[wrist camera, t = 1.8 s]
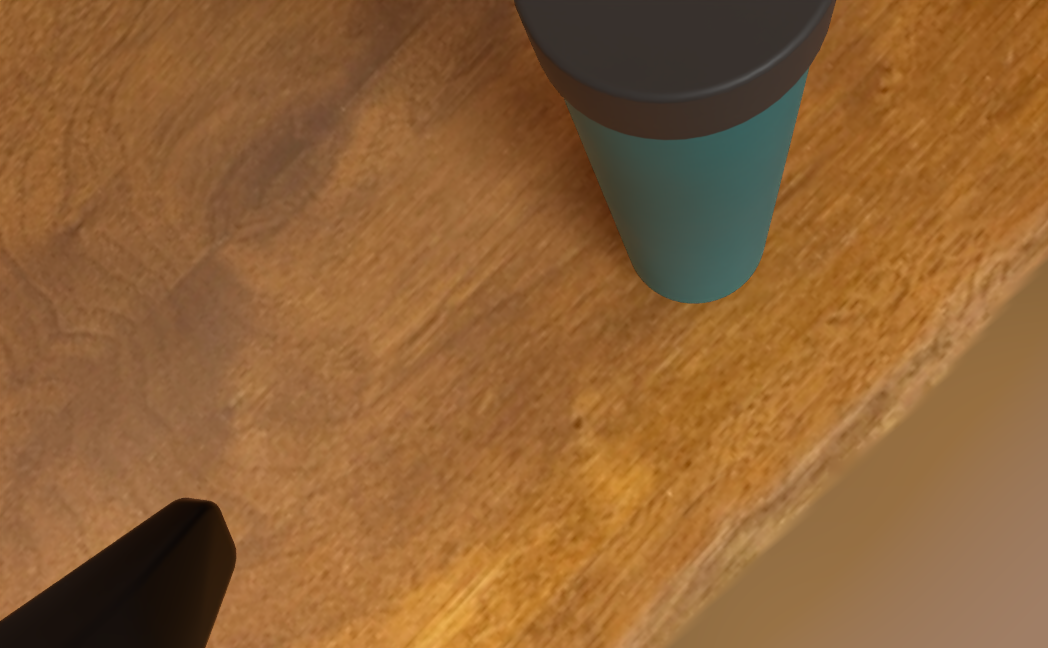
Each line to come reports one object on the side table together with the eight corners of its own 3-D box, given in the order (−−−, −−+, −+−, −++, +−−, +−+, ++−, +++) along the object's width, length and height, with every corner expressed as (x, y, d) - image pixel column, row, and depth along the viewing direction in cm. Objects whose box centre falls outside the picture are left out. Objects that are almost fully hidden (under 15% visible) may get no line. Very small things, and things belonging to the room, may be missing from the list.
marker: (796, 254, 21) (928, -68, 8) (688, 344, 22) (652, 169, 8) (703, 155, 22) (690, -277, 9) (600, 244, 22) (443, -56, 9)
